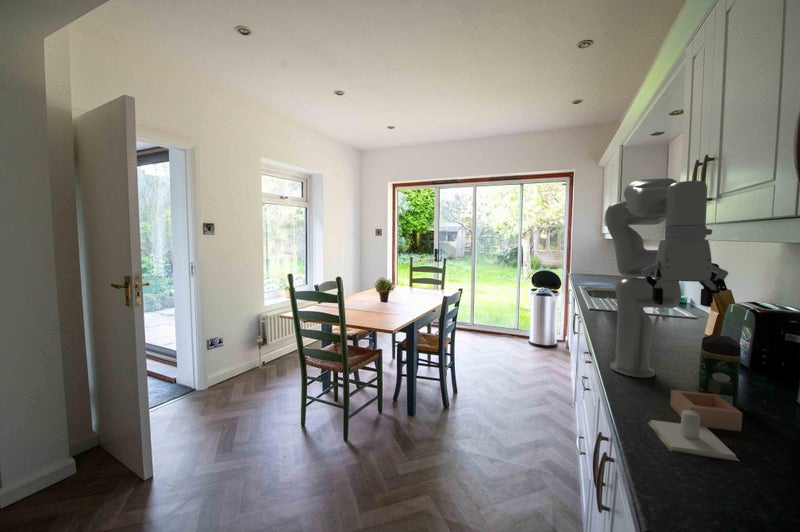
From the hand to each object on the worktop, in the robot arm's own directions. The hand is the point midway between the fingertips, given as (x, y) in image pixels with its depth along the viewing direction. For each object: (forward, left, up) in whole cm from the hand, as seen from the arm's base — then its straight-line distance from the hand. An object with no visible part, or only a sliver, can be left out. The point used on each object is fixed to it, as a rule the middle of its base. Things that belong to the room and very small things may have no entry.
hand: (681, 305), depth 84 cm
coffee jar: (-13, +15, -29) cm, 35 cm away
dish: (-2, +7, -29) cm, 30 cm away
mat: (+10, -1, -29) cm, 31 cm away
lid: (+10, -1, -28) cm, 30 cm away
